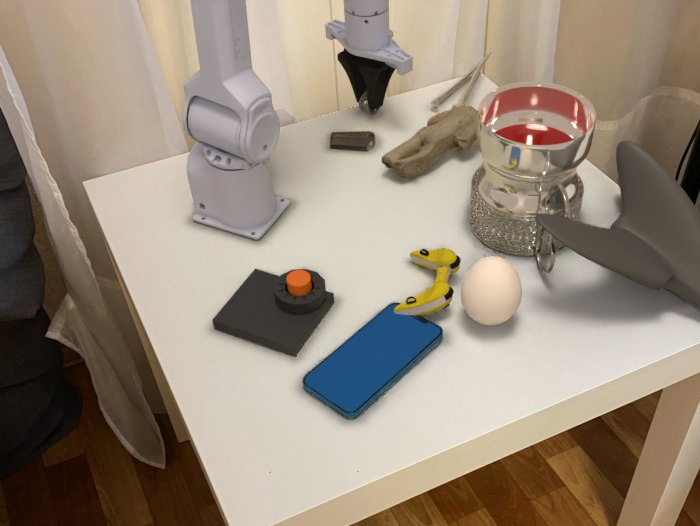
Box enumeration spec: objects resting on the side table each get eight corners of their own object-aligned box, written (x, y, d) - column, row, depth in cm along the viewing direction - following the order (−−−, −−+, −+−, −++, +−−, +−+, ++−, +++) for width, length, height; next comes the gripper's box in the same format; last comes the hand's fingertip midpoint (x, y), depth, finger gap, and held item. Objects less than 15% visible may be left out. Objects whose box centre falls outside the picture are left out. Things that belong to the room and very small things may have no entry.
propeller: (757, 307, 100) (815, 254, 95) (697, 378, 81) (766, 318, 76) (615, 178, 104) (663, 120, 99) (527, 217, 85) (581, 148, 80)
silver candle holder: (528, 175, 108) (542, 68, 97) (630, 250, 98) (658, 141, 87) (447, 212, 103) (452, 104, 92) (545, 295, 94) (564, 185, 83)
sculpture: (413, 199, 107) (494, 143, 112) (410, 168, 103) (494, 111, 109) (375, 177, 110) (456, 124, 116) (371, 146, 107) (454, 93, 112)
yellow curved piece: (370, 306, 97) (417, 339, 90) (359, 283, 95) (406, 315, 88) (437, 256, 99) (488, 285, 92) (427, 233, 97) (479, 260, 90)
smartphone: (297, 380, 85) (394, 299, 92) (298, 387, 86) (394, 305, 93) (351, 417, 82) (447, 330, 89) (352, 423, 83) (447, 336, 90)
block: (332, 141, 115) (330, 128, 114) (376, 138, 115) (375, 126, 114) (330, 153, 113) (328, 140, 111) (374, 151, 112) (373, 138, 111)
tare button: (283, 292, 91) (281, 281, 90) (295, 277, 93) (293, 267, 91) (304, 299, 90) (303, 288, 89) (316, 284, 92) (314, 273, 91)
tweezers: (428, 99, 117) (428, 112, 119) (460, 106, 116) (460, 119, 117) (476, 40, 127) (476, 52, 128) (506, 45, 125) (505, 58, 127)
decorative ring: (367, 119, 117) (367, 99, 115) (358, 114, 118) (357, 94, 116) (382, 111, 119) (381, 91, 116) (372, 106, 119) (372, 86, 117)
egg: (447, 320, 91) (450, 264, 85) (482, 289, 94) (487, 233, 88) (495, 347, 89) (501, 292, 83) (529, 314, 92) (538, 259, 86)
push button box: (214, 329, 91) (209, 309, 89) (260, 273, 97) (256, 253, 95) (295, 356, 89) (292, 336, 86) (337, 297, 94) (335, 277, 92)
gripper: (429, 13, 105) (427, 111, 116) (350, -22, 112) (354, 73, 122) (389, 34, 102) (391, 132, 113) (310, -4, 109) (318, 92, 119)
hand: (370, 103), depth 117 cm, fingers closed on decorative ring, 2 cm apart
